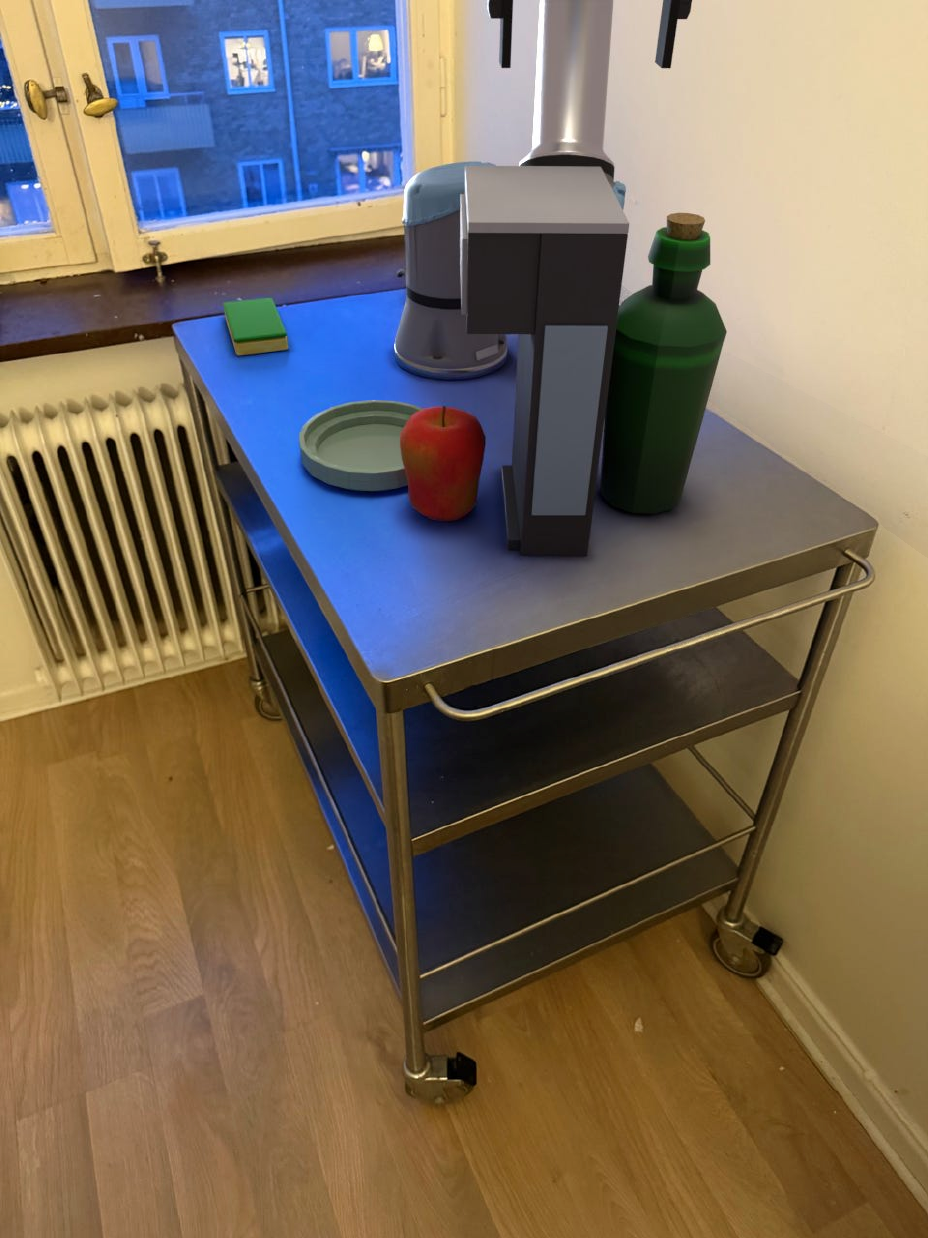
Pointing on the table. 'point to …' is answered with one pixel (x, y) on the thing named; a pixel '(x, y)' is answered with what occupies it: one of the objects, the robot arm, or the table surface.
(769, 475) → the table surface
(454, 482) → the apple
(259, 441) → the table surface
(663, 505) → the bottle
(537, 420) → the coffee maker
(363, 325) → the table surface
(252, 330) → the dish sponge
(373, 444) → the dish
